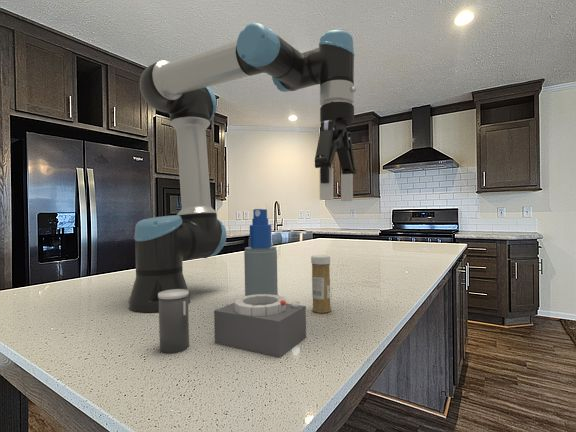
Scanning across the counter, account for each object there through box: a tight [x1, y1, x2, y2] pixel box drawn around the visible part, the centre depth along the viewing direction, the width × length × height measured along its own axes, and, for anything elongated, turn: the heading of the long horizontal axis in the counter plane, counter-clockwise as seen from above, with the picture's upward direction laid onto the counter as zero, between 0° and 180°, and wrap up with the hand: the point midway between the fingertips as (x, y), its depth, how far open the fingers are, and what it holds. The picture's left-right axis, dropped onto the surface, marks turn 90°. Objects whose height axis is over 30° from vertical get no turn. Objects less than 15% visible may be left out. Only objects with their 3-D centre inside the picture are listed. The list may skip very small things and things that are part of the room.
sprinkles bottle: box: [310, 254, 332, 314], centre depth 82 cm, size 5×5×13 cm
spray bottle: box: [243, 208, 279, 296], centre depth 92 cm, size 9×9×25 cm
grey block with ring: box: [213, 294, 307, 358], centre depth 64 cm, size 14×10×8 cm
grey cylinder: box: [158, 289, 190, 355], centre depth 61 cm, size 5×5×10 cm
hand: (337, 200), depth 76 cm, fingers open, 13 cm apart
